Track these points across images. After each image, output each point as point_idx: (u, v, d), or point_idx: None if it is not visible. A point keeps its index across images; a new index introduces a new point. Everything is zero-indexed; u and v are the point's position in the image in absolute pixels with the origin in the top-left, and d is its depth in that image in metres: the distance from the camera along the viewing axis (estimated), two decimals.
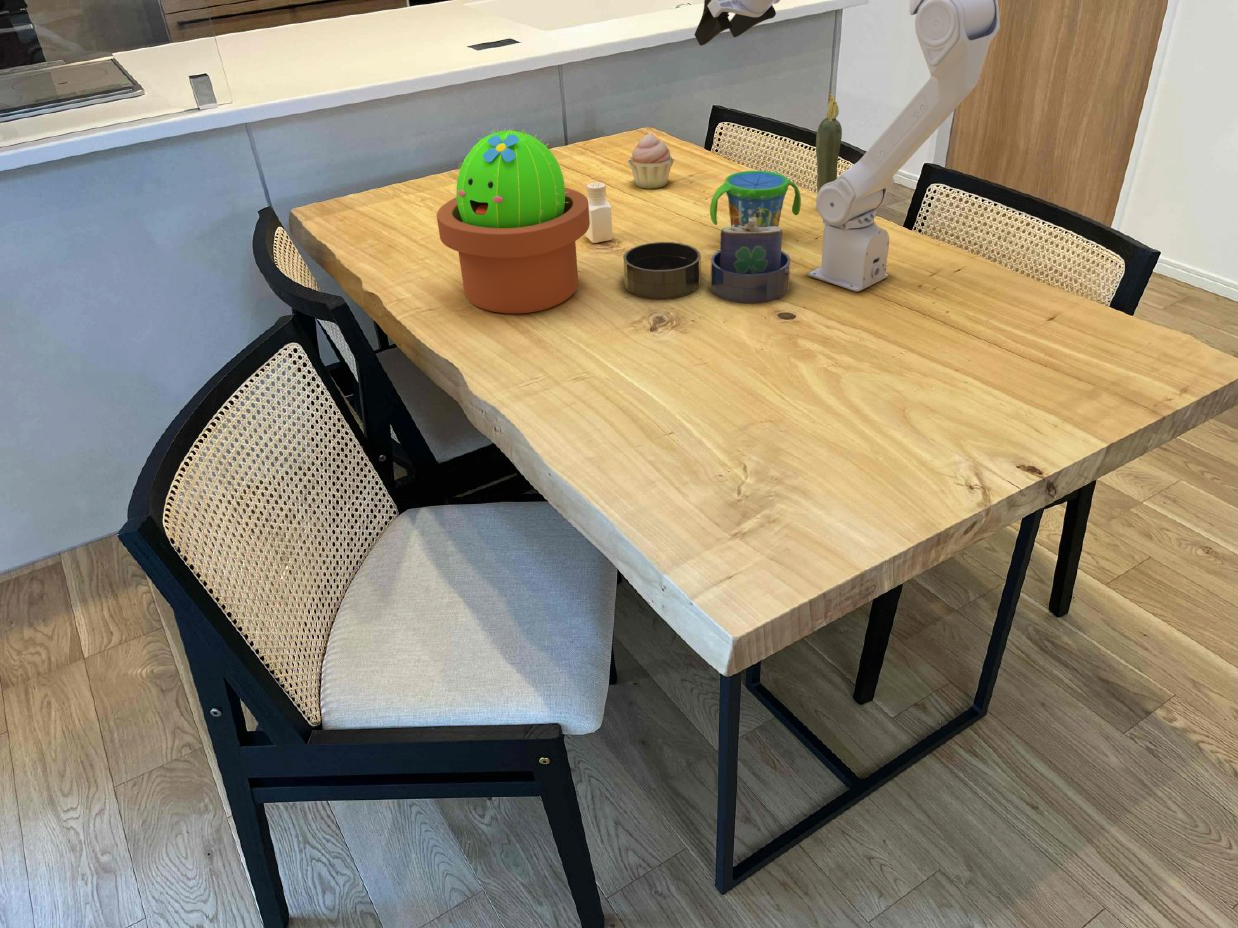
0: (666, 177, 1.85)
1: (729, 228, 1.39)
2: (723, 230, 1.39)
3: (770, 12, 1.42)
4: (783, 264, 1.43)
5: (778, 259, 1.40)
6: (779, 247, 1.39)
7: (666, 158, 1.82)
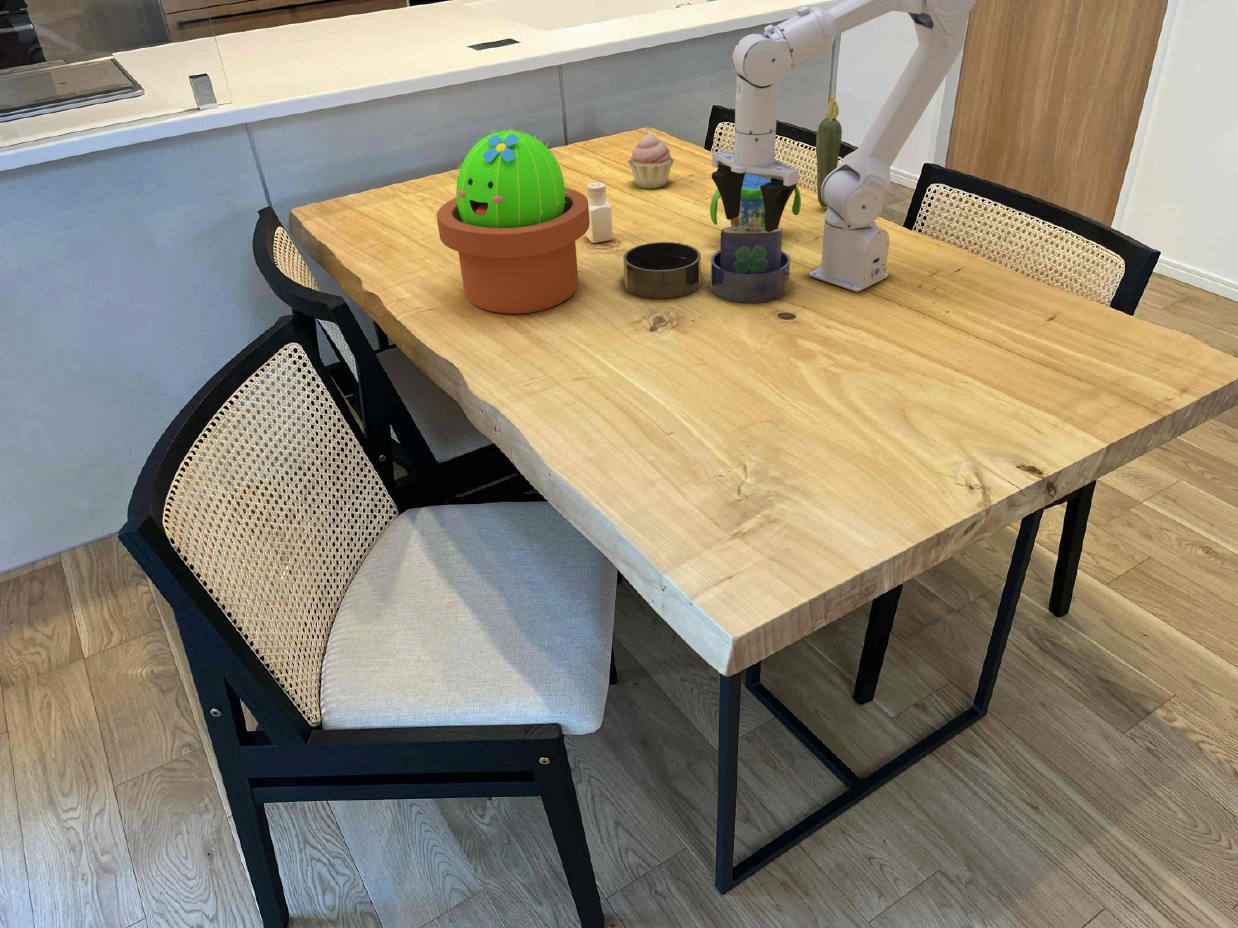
0: (666, 177, 1.85)
1: (729, 228, 1.39)
2: (723, 230, 1.39)
3: None
4: (783, 264, 1.43)
5: (778, 259, 1.40)
6: (779, 247, 1.39)
7: (666, 158, 1.82)
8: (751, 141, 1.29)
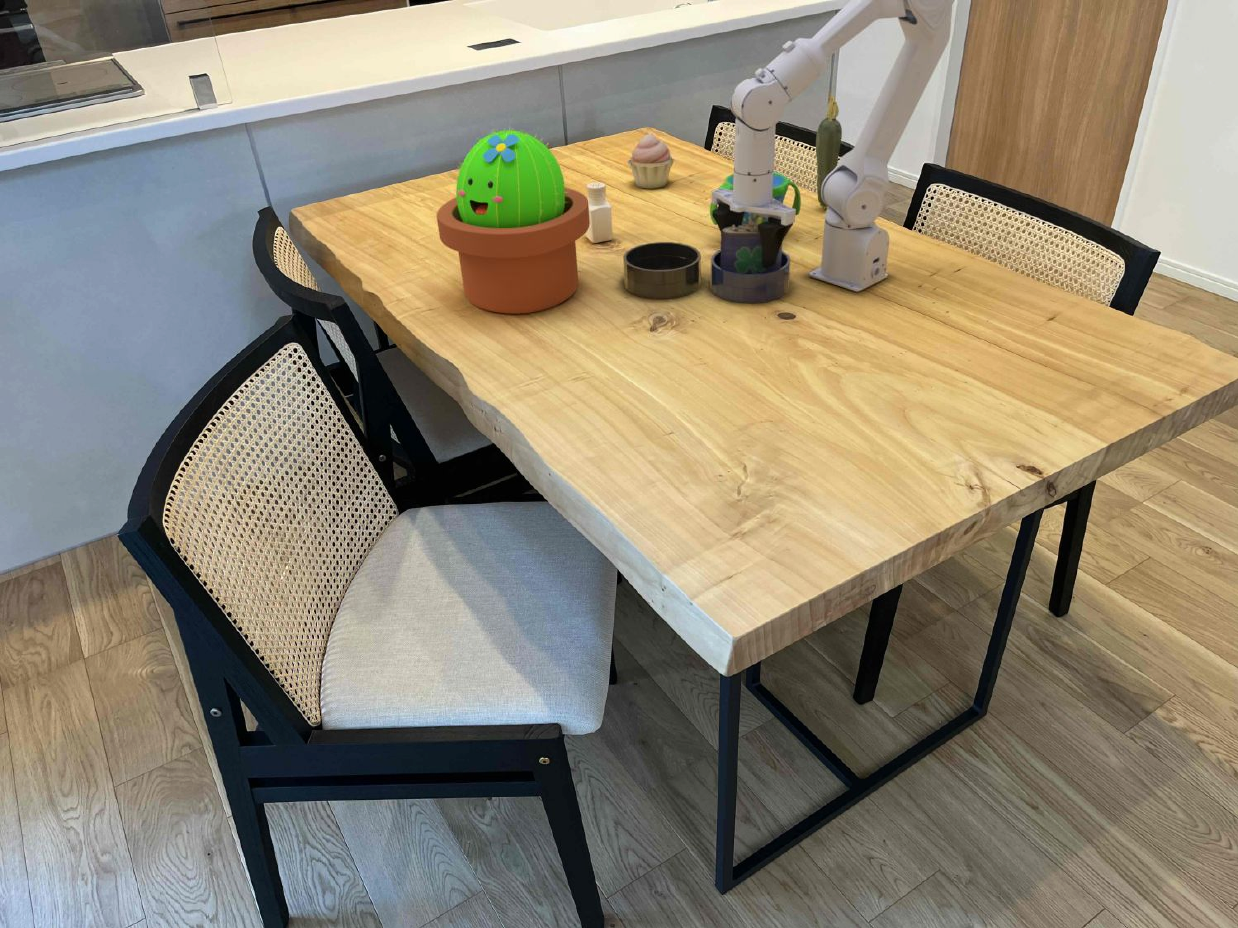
0: (666, 177, 1.85)
1: (730, 228, 1.39)
2: (724, 230, 1.39)
3: None
4: (783, 264, 1.43)
5: (779, 259, 1.40)
6: None
7: (666, 158, 1.82)
8: (749, 181, 1.32)
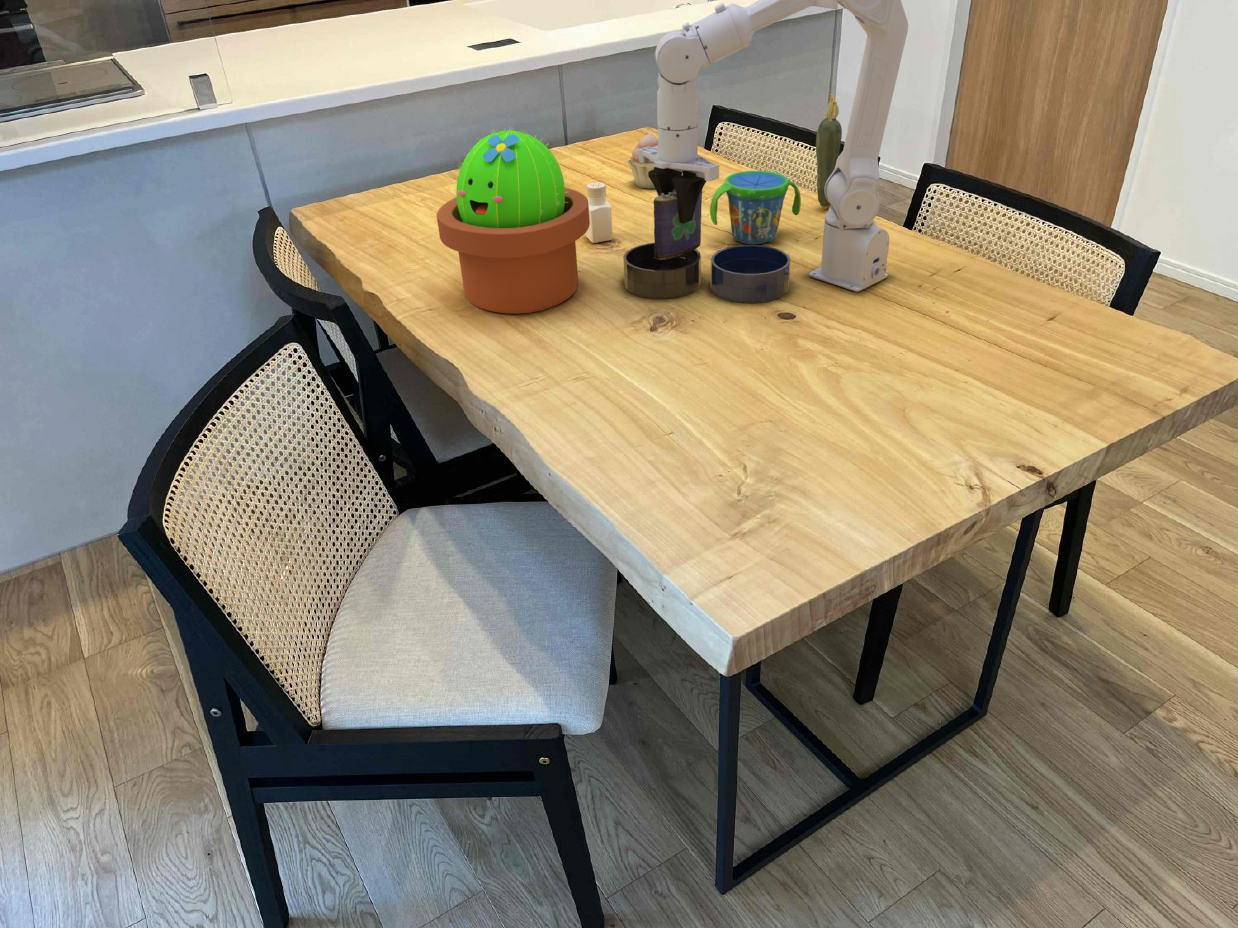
0: None
1: (660, 197, 1.37)
2: (658, 200, 1.36)
3: None
4: (783, 264, 1.43)
5: None
6: None
7: None
8: (672, 137, 1.31)
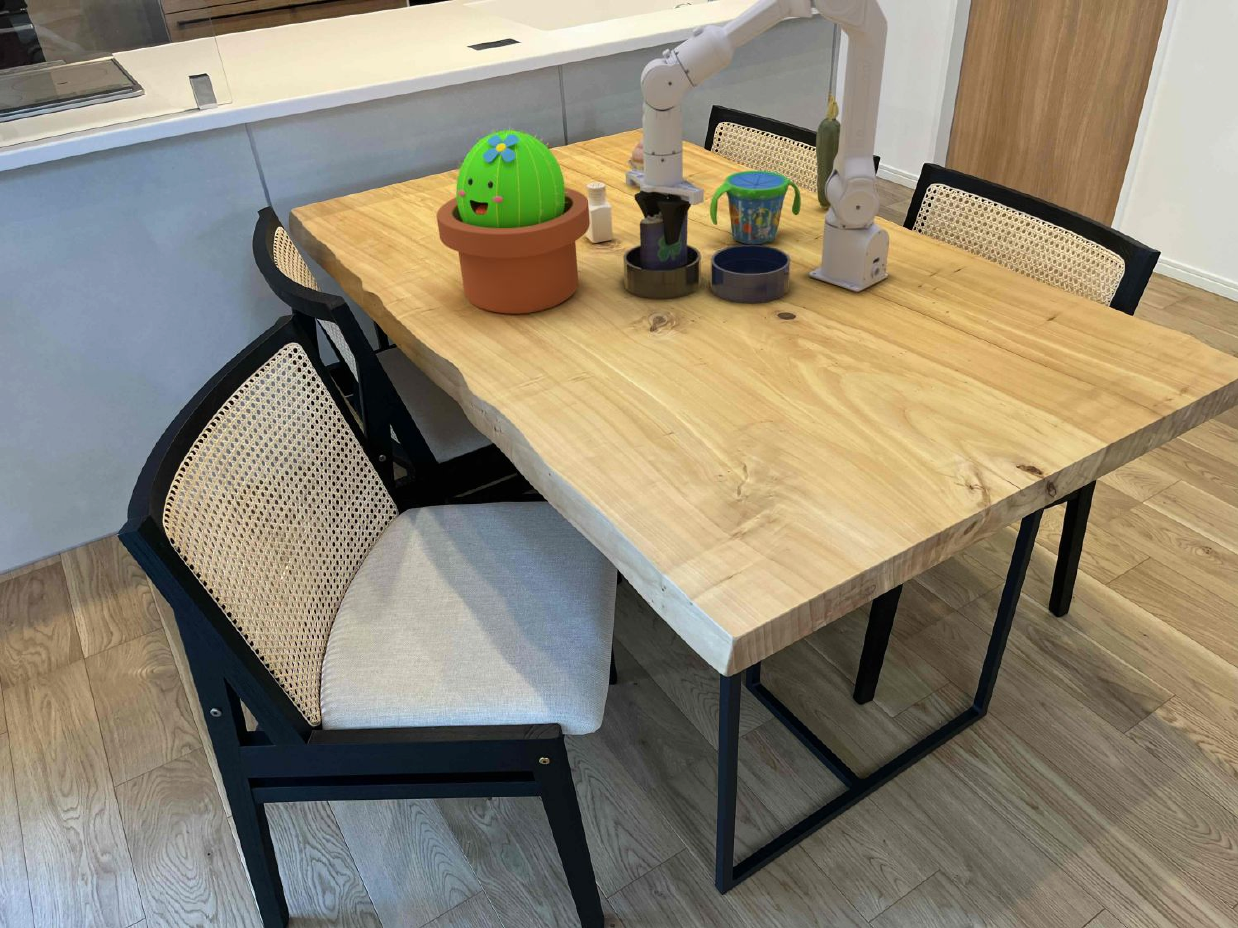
0: None
1: (646, 220, 1.39)
2: (644, 222, 1.38)
3: None
4: (783, 264, 1.43)
5: None
6: None
7: None
8: (657, 161, 1.33)
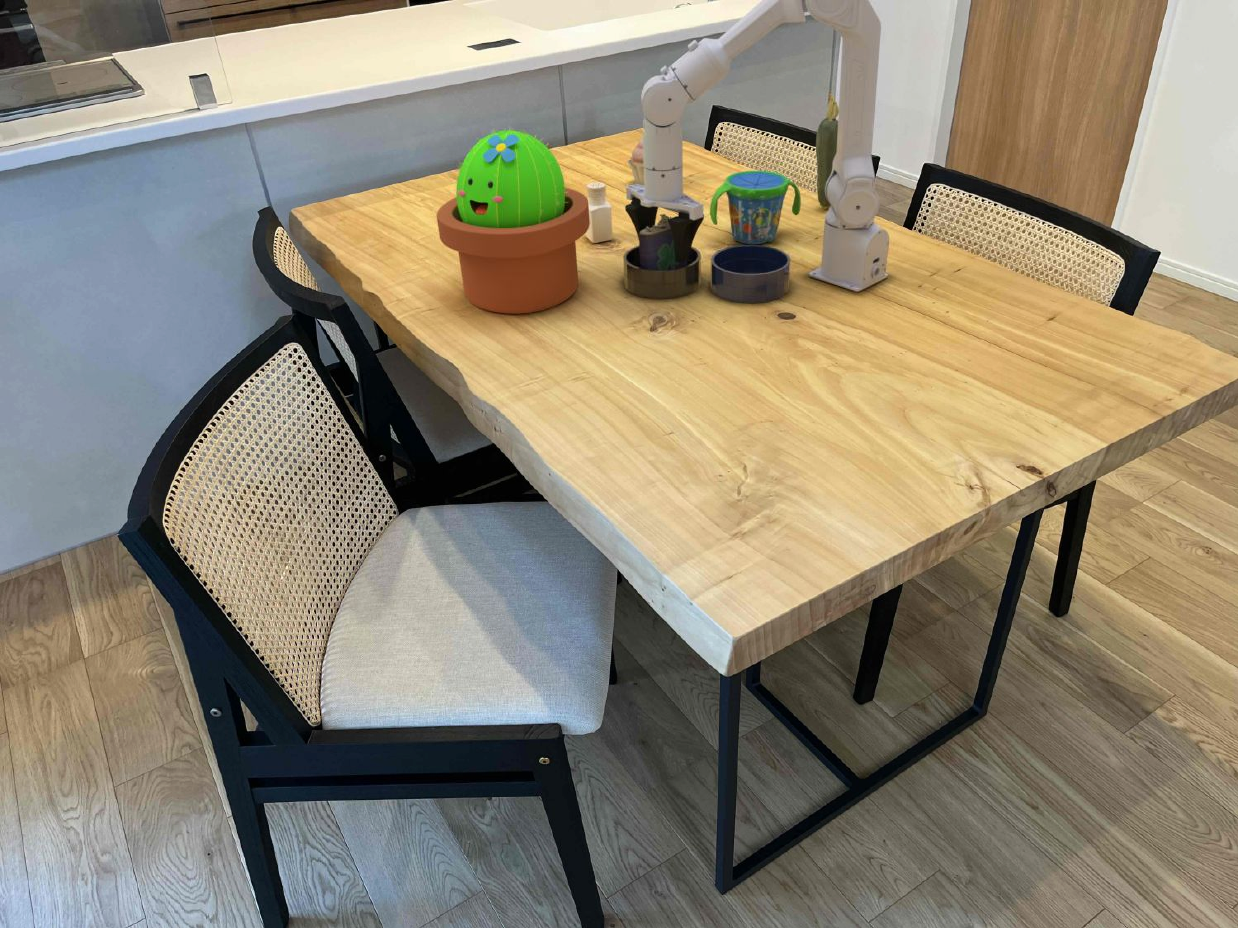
0: None
1: (644, 231, 1.40)
2: (643, 234, 1.39)
3: None
4: (783, 264, 1.43)
5: None
6: None
7: None
8: (658, 177, 1.34)
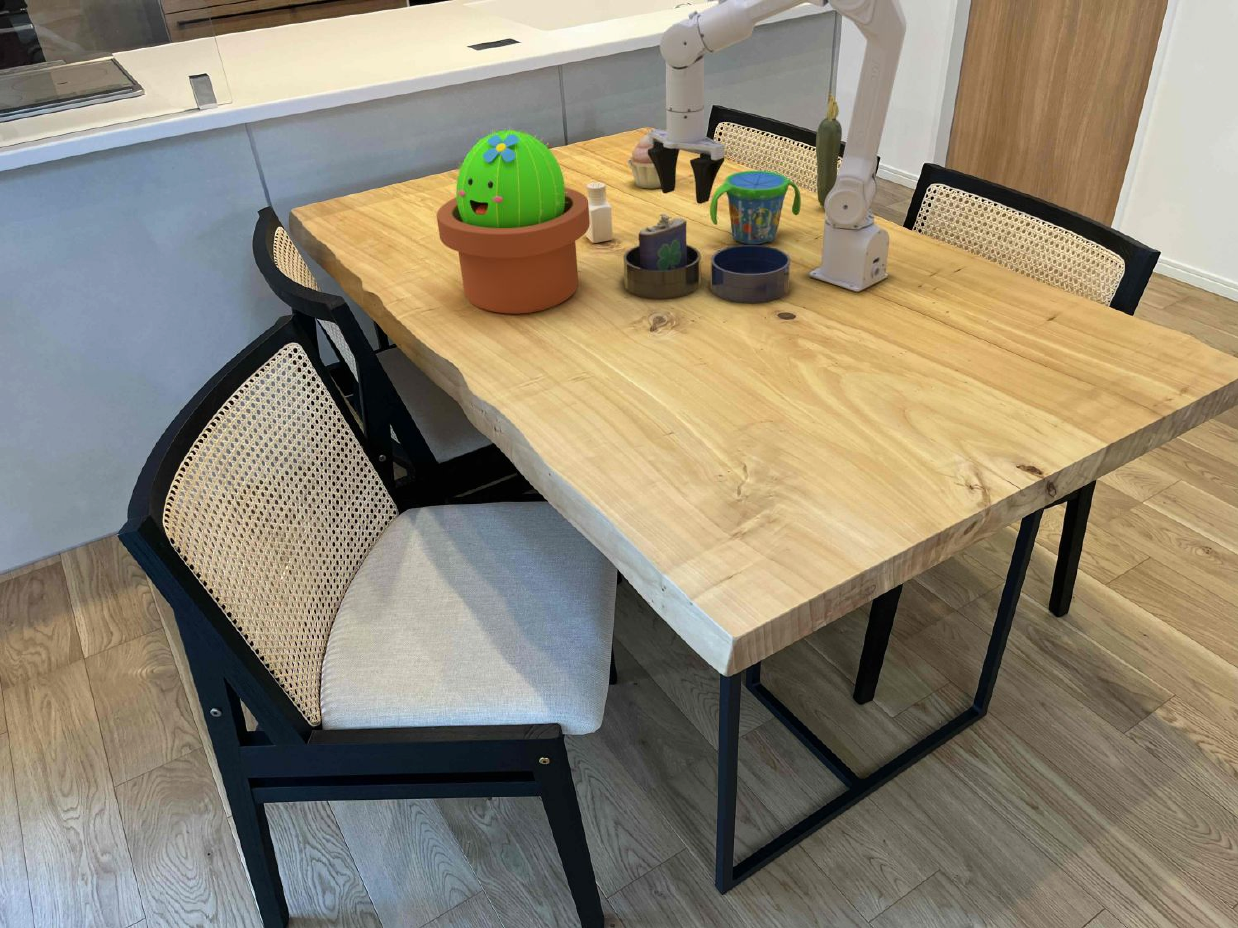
0: None
1: (644, 231, 1.40)
2: (643, 234, 1.39)
3: None
4: (783, 264, 1.43)
5: None
6: None
7: None
8: (680, 118, 1.39)
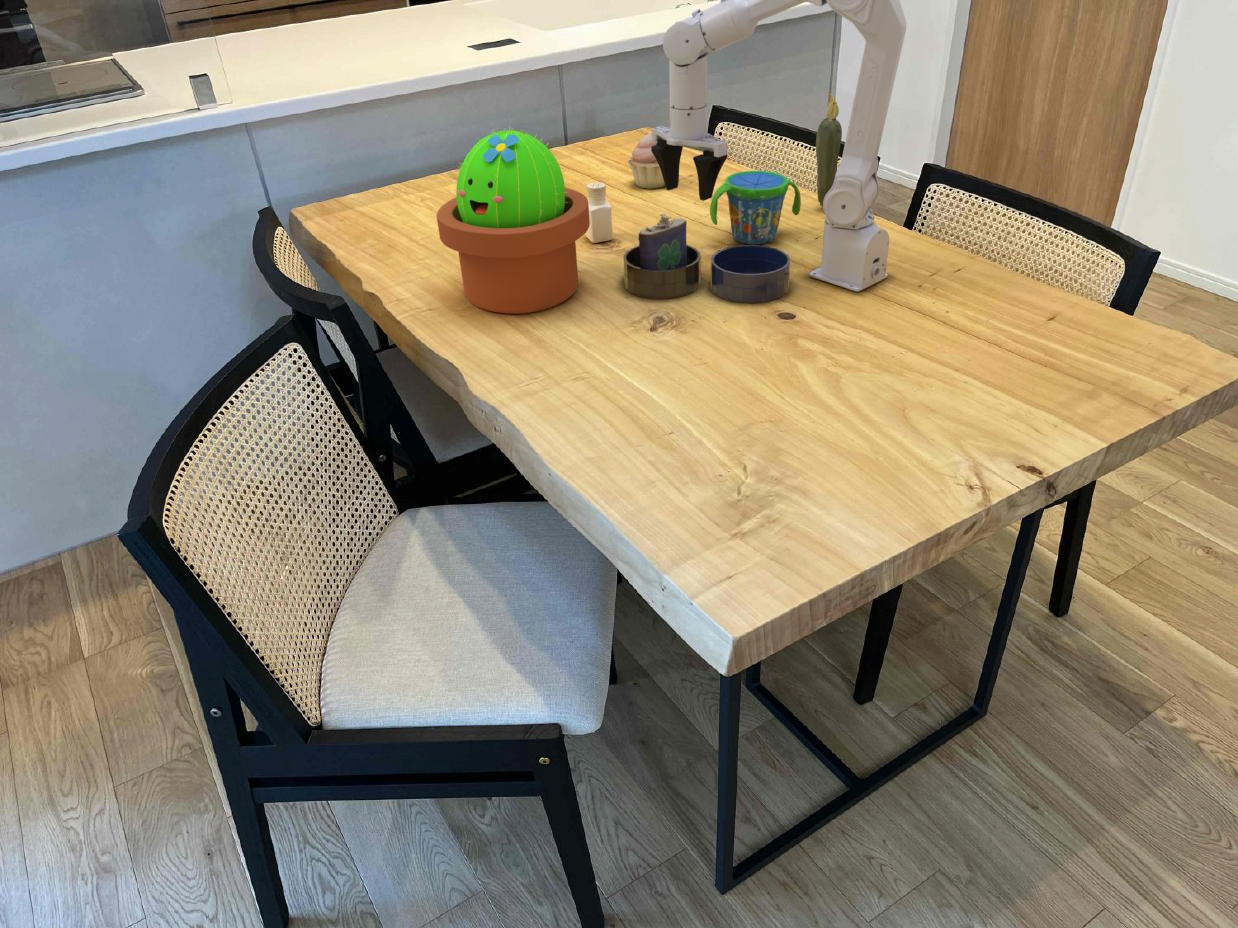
0: None
1: (644, 231, 1.40)
2: (643, 234, 1.39)
3: None
4: (783, 264, 1.43)
5: None
6: None
7: None
8: (684, 116, 1.40)
